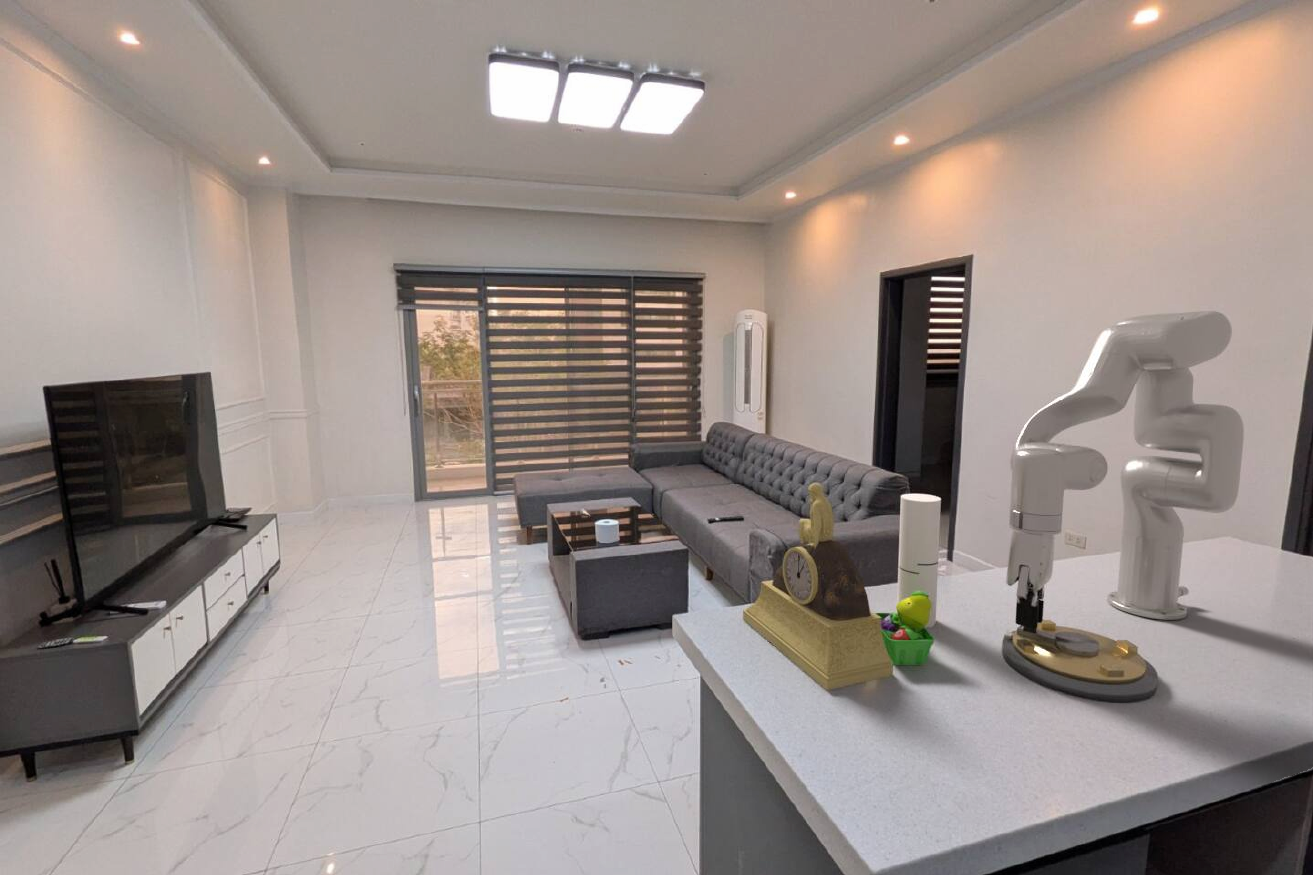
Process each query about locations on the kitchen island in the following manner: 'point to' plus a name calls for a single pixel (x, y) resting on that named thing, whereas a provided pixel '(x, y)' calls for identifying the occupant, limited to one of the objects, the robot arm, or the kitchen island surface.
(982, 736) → the kitchen island surface
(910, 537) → the cylindrical container
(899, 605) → the fruit basket
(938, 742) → the kitchen island surface
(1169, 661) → the kitchen island surface
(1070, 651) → the gold dial with handle
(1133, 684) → the cap plate
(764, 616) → the decorative clock
